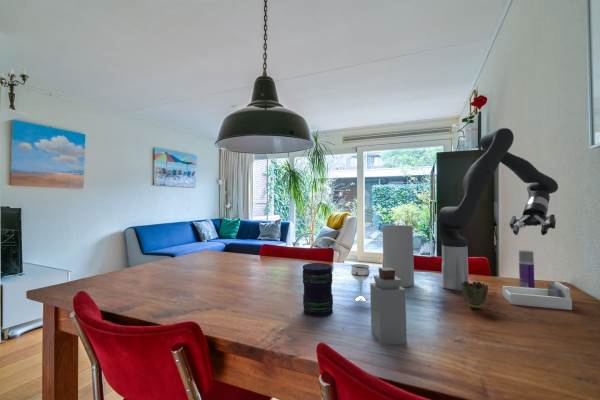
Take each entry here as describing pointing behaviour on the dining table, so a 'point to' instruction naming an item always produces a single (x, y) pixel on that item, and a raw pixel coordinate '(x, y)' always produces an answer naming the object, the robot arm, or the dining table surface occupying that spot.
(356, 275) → the wineglass
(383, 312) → the perfume bottle
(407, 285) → the grey rectangular pillar
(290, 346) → the dining table surface
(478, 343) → the dining table surface
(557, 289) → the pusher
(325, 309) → the storage jar
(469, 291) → the cup
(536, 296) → the white drawer
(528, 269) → the container
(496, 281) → the dining table surface
